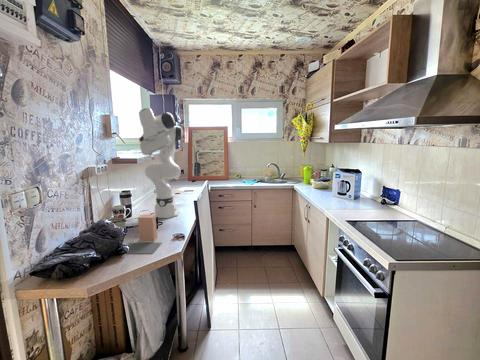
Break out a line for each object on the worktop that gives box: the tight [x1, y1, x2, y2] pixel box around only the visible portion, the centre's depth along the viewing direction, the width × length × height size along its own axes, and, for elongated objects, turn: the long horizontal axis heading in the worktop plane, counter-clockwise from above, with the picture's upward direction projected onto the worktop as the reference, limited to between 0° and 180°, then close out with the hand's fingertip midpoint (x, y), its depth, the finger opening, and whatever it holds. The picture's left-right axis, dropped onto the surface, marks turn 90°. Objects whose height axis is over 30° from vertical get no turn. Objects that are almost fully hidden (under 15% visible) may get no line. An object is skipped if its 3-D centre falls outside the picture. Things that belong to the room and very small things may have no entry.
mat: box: [124, 242, 163, 255], centre depth 136 cm, size 14×18×1 cm
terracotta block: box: [137, 214, 158, 243], centre depth 145 cm, size 5×8×14 cm, turn 88°
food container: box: [107, 217, 127, 229], centre depth 153 cm, size 12×6×10 cm, turn 141°
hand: (159, 157), depth 152 cm, fingers open, 8 cm apart
